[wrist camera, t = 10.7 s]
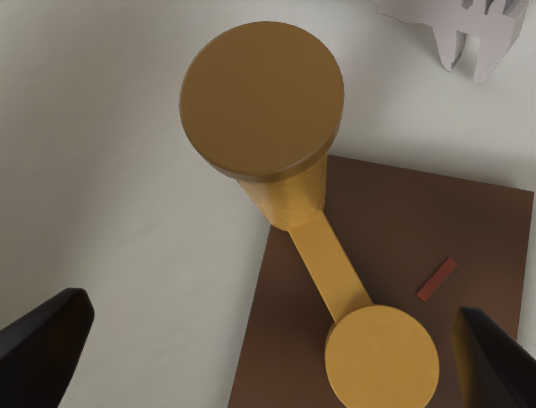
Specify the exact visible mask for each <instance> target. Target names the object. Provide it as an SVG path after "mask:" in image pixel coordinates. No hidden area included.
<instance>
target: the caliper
mask: <svg viewBox="0 0 536 408" xmlns="http://www.w3.org/2000/svg"><path fill="white" fill-rule="evenodd" d="M528 2H529V1H526V0H374V3H375V11H376V12H377V13H378V14H381V15H387V16H391V17H394V18H395V19H397V20H398V21H401V22H404V23H413V24H419V23H423V24H425V25H428V26H431V27H433V31H434V35H435V39H436V43H437V47H438V51H439V55H440V58H441V62H442V65H443V66H444V68H445V69H446V70H447V71H449V72H450V71H451V69H452V68H453V66H454V65H455V64H456V62H457V61H458V60H459V58H460V56H461V50H462V49H463V47H464V43H465V37H466V34H469V35H471V36H475V37H478V38H481V43H480V49H479V54H478V59H477V65H476V70H475V74H474V78H473V81H474V82H477V83H482V82H484V81H485V80H486V79H487V78H488V76H489V75H490V74H491V73H492V71H493V70H494V69H495V68H496V66H497V65H498V64H499V62H500V61H501V60H502V59H503V57H504V56H505V55H506V53H507V52H508V51H509V49H510V48H511V46H512V45H513V44H514V42H515V41H516V39H517V38H518V37H519V34H520V30H521V27H522V23H523V20H524V16H525V13H526V9H527V5H528Z"/></svg>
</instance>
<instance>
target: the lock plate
mask: <svg viewBox="0 0 536 408" xmlns="http://www.w3.org/2000/svg"><path fill="white" fill-rule="evenodd" d="M533 198H534V192H532V191H526V190H521V189H515V188H510V187H504V186H499V185H493V184H488V183H482V182H477V181H471V180H466V179H460V178H454V177H449V176H443V175H438V174H432V173H427V172H421V171H416V170H410V169H405V168H399V167H394V166H388V165H383V164H377V163H371V162H366V161H360V160H355V159H349V158H344V157H338V156H333V155H327V174H326V192H325V206H324V210H323V213H324V215H325V217H326V218H327V220H328V222H329V224H330V226H331V228H332V229H333V231H334V233H335V235H336V237H337V238H338V240H339V242H340V244H341V246H342V248H343V249H344V251H345V253H346V255H347V257H348V259H349V260H350V262H351V264H352V266H353V268H354V269H355V271H356V273H357V275H358V277H359V279H360V280H361V282H362V284H363V286H364V288H365V290H366V291H367V293H368V295H369V297H370V299H371V301H372V302H373V303H376V304H382V305H386V306H390V307H394V308H397V309H399V310H402V311H404V312H406V313H408V314H409V315H411V316H412V317H413V318H415V319H416V320H417V321H418V322H419V323H420V324H421V325H422V326H423V327H424V328H425V329H426V330H427V332H428V333H429V335H430V337H431V338H432V340H433V342H434V344H435V347H436V350H437V354H438V358H439V379H438V384H437V387H436V390H435V392H434V394H433V396H432V398H431V399H430V401H429V402H428V404H427V405H426V406H425V407H424V408H465V407H464V402H463V398H462V392H461V387H460V382H459V376H458V371H457V365H456V360H455V355H454V349H453V344H452V329H453V325H454V321H455V318H456V314H457V311H458V309H459V308H460V307H462V306H466V307H478V308H480V309H482V310H483V311H484V312H485V313H486V314H487V315H489V316H490V317H491V318H492V319H493V320H494V321H495V322H496V323H497V324H498V325H499V326H500V327H501V328H502V329H503V330H504V331H505V332H507V333H508V334H509V335H510V336H511V337H512V338H513V339H514V340H515V341H517V333H518V324H519V316H520V308H521V299H522V291H523V282H524V274H525V265H526V257H527V248H528V240H529V232H530V223H531V215H532V206H533ZM333 323H334V319H333V317H332V315H331V313H330V311H329V309H328V308H327V306H326V304H325V302H324V300H323V298H322V296H321V294H320V292H319V290H318V288H317V286H316V284H315V282H314V280H313V279H312V277H311V275H310V273H309V271H308V269H307V267H306V265H305V263H304V261H303V259H302V257H301V255H300V253H299V251H298V249H297V248H296V246H295V244H294V242H293V240H292V238H291V236H290V234H289V232H287V231H283V230H280V229H278V228H276V227H274V226H273V225H272V224H271V227H270V231H269V235H268V239H267V243H266V248H265V252H264V256H263V260H262V265H261V269H260V273H259V277H258V282H257V286H256V290H255V294H254V298H253V303H252V307H251V311H250V315H249V320H248V324H247V328H246V332H245V337H244V341H243V345H242V349H241V353H240V358H239V362H238V366H237V370H236V375H235V379H234V383H233V387H232V391H231V396H230V400H229V404H228V408H347V407H346V406H345V405H344V404H343V403H342V402H341V401H340V399H339V398H338V397H337V395H336V394H335V392H334V390H333V389H332V387H331V384H330V382H329V379H328V376H327V372H326V366H325V342H326V337H327V334H328V332H329V330H330V328H331V326H332V324H333Z"/></svg>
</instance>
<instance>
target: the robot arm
mask: <svg viewBox="0 0 536 408" xmlns="http://www.w3.org/2000/svg"><path fill="white" fill-rule="evenodd" d="M94 315H95V313H94V308H93V306H92V304H91V301H90V299H89V297H88V294H87V292H86V291H85V290H84V289H82V288H66V289H65V290H63V291H61V292H60V293H58V294H57V295H55V296H54V297H52V298H50V299H49V300H47V301H46V302H44V303H43V304H41V305H40V306H38V307H37V308H35V309H33V310H32V311H30V312H29V313H27V314H26V315H24V316H23V317H21V318H20V319H18V320H16V321H15V322H13V323H12V324H10V325H9V326H7V327H6V328H4V329H3V330H1V331H0V408H58V406H59V404H60V402H61V400H62V398H63V395H64V393H65V391H66V389H67V387H68V385H69V383H70V381H71V379H72V376H73V374H74V372H75V369H76V367H77V364H78V361H79V358H80V356H81V353H82V350H83V348H84V345H85V342H86V340H87V337H88V334H89V331H90V329H91V326H92V323H93V321H94ZM452 344H453V349H454V355H455V360H456V365H457V371H458V376H459V382H460V387H461V392H462V398H463V402H464V407H465V408H536V360H535V359H534V358H533V357H532V356H531V355H530V354H529V353H528V352H527V351H526V350H525V349H523V348H522V347H521V346H520V345H519V344H518V343H517V342H516V341H515V340H514V339H513V338H512V337H511V336H510V335H509V334H508V333H507V332H505V331H504V330H503V329H502V328H501V327H500V326H499V325H498V324H497V323H496V322H495V321H494V320H493V319H492V318H491V317H490V316H489V315H487V314H486V313H485V312H484V311H483V310H482V309H480V308H478V307H466V306H462V307H460V308H459V309H458V311H457V314H456V318H455V321H454V325H453V329H452Z"/></svg>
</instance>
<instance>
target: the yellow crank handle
mask: <svg viewBox="0 0 536 408" xmlns="http://www.w3.org/2000/svg"><path fill="white" fill-rule="evenodd" d="M343 104H344V83H343V78H342V74H341V71H340V69H339V66H338V64H337V62H336V60H335V58H334V56H333V55H332V54H331V52H330V51H329V50H328V48H327V47H326V46H325V45H324V44H323V43H322V42H321V41H320V40H318V39H317V38H316V37H315V36H313V35H312V34H310V33H309V32H307V31H305V30H303V29H301V28H298V27H296V26H293V25H290V24H286V23H281V22H271V21H262V22H253V23H248V24H244V25H240V26H237V27H234V28H232V29H230V30H228V31H226V32H224V33H222V34H220V35H219V36H217V37H216V38H214V39H213V40H212V41H210V42H209V43H208V44H207V45H206V46H205V47H204V48H203V49H202V50H201V51H200V52H199V53H198V54H197V56H196V57H195V58H194V60H193V61H192V63H191V64H190V66H189V68H188V70H187V72H186V74H185V76H184V80H183V83H182V86H181V92H180V101H179V109H180V117H181V122H182V126H183V128H184V131H185V133H186V135H187V137H188V139H189V141H190V142H191V144H192V145H193V147H194V148H195V149H196V150H197V152H198V153H199V154H200V155H201V156H202V157H203V158H204V159H205V160H206V161H207V162H208V163H209V164H210V165H211V166H212V167H213V168H215V169H216V170H217V171H219V172H220V173H222V174H224V175H226V176H228V177H231V178H233V179H236V180H237V182H238V183H239V184H240V185H241V187H242V188H243V189H244V191H245V192H246V193H247V194H248V196H249V197H250V198H251V200H252V201H253V202H254V203H255V205H256V206H257V207H258V209H259V210H260V211H261V212H262V214H263V215H264V216H265V218H266V219H267V220H268V221H269V222H270V223H271V224H272V225H273V226H274V227H276V228H278V229H280V230H283V231H287V232H289V234H290V236H291V238H292V240H293V242H294V244H295V246H296V248H297V249H298V251H299V253H300V255H301V257H302V259H303V261H304V263H305V265H306V267H307V269H308V271H309V273H310V275H311V277H312V279H313V280H314V282H315V284H316V286H317V288H318V290H319V292H320V294H321V296H322V298H323V300H324V302H325V304H326V306H327V308H328V309H329V311H330V313H331V315H332V317H333V319H334V323H333V324H332V326H331V328H330V330H329V332H328V334H327V337H326V342H325V366H326V372H327V376H328V379H329V382H330V384H331V387H332V389H333V390H334V392H335V394H336V395H337V397H338V398H339V399H340V401H341V402H342V403H343V404H344V405H345V406H346V407H347V408H424V407H425V406H426V405H427V404H428V402H429V401H430V399H431V398H432V396H433V394H434V392H435V390H436V387H437V384H438V379H439V358H438V354H437V350H436V347H435V344H434V342H433V340H432V338H431V337H430V335H429V333H428V332H427V330H426V329H425V328H424V327H423V326H422V325H421V324H420V323H419V322H418V321H417V320H416V319H415V318H413V317H412V316H411V315H409V314H408V313H406V312H404V311H402V310H399V309H397V308H394V307H390V306H386V305H382V304H376V303H373V302H372V301H371V299H370V297H369V295H368V293H367V291H366V290H365V288H364V286H363V284H362V282H361V280H360V279H359V277H358V275H357V273H356V271H355V269H354V268H353V266H352V264H351V262H350V260H349V259H348V257H347V255H346V253H345V251H344V249H343V248H342V246H341V244H340V242H339V240H338V238H337V237H336V235H335V233H334V231H333V229H332V228H331V226H330V224H329V222H328V220H327V218H326V217H325V215H324V213H323V210H324V206H325V192H326V174H327V155H328V149H329V147H330V146H331V144H332V143H333V141H334V139H335V137H336V135H337V132H338V130H339V127H340V123H341V119H342V113H343Z"/></svg>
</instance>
